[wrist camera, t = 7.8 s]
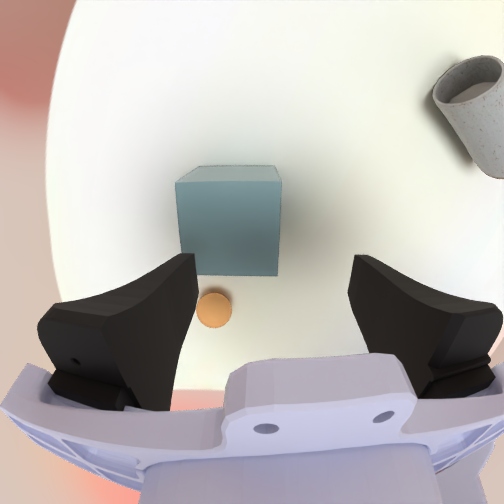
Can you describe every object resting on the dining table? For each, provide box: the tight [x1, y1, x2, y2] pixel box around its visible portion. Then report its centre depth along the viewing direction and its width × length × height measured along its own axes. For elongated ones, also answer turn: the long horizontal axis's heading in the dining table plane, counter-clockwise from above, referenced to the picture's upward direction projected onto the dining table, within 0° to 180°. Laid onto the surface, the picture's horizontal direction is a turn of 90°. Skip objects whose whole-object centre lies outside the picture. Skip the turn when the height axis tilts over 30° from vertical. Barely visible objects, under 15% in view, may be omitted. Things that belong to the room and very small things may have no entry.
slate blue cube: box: [175, 166, 281, 276], centre depth 17 cm, size 6×6×6 cm
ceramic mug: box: [432, 55, 504, 179], centre depth 12 cm, size 11×8×8 cm
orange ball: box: [196, 293, 232, 328], centre depth 23 cm, size 3×3×3 cm
